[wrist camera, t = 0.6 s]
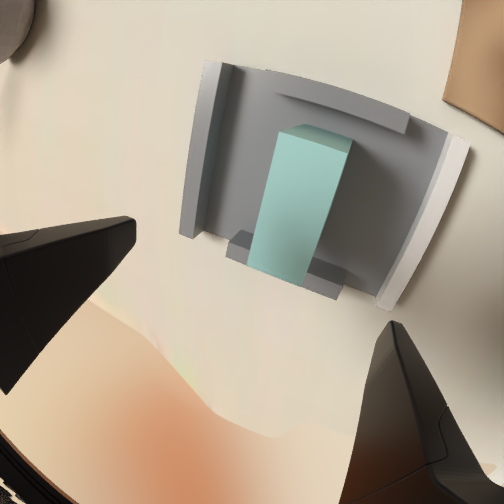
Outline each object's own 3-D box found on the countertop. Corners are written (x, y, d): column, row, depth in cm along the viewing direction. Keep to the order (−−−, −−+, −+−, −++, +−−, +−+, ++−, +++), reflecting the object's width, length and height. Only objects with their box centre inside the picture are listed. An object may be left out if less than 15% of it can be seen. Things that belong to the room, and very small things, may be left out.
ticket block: (353, 139, 16) (347, 153, 12) (319, 238, 20) (300, 286, 15) (305, 123, 17) (279, 131, 12) (278, 222, 21) (246, 265, 16)
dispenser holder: (463, 140, 14) (476, 146, 12) (390, 299, 21) (390, 321, 18) (219, 63, 17) (200, 59, 15) (192, 223, 24) (175, 236, 22)
